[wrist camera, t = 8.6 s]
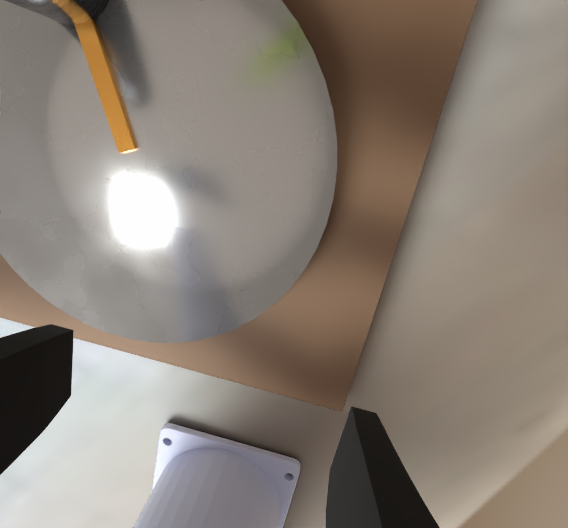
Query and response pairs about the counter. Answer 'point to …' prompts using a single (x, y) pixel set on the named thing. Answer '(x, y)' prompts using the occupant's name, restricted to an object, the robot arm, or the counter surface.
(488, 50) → the counter surface
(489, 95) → the counter surface
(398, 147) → the dial base
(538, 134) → the counter surface
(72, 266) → the dial
